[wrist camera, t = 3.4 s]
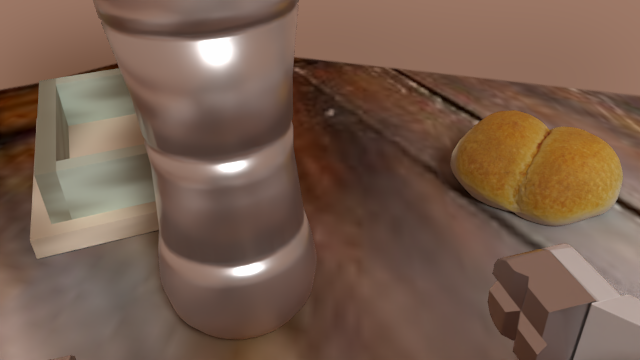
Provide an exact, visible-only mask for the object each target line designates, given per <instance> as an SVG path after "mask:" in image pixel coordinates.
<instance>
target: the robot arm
mask: <svg viewBox="0 0 640 360" xmlns="http://www.w3.org/2000/svg"><path fill="white" fill-rule="evenodd" d="M492 274H493V275H494V276H495V278H496V279H497V281H496V283H495V284H494V285H493V286H492V287H491V288H490V290H489V296H488V306H489V311H490V315H491V318H492V320H493V322H494V324H495V326H496V327H497V329H498V330H499V332H500V333H501V334H502V335H503V336H505V337H507V338H509V339H511V340H513V341H514V345H513V352H514V353H515V355H516V356H517V358H518V359H519V360H640V299H638V298H635V297H633V296H631V295H628V294H627V295H622V296H621V295H620V294H619V293H618V292H617V291H616V290H615V289H614V288H613V287H612V286H611V285H610V284H609V283H608V282H607V281H606V280H605V279H604V278H603V277H602V276H601V275H600V274H599V273H598V272H597V271H596V270H595V269H594V268H593V267H592V266H591V265H590V264H589V263H588V262H587V261H586V260H585V259H584V258H583V257H582V256H581V255H580V254H579V253H578V252H577V251H576V250H575V249H574V248H573V247H572V246H570V245H568V244H565V243H564V244H560V245H555V246H551V247H547V248H543V249H538V250H533V251H529V252H525V253H521V254H517V255H512V256H508V257H504V258H500V259H498V260H497V261H496V263H495V264H494V268H493V273H492ZM50 360H76V358H75V356H71V355H70V356H65V357H60V358H55V359H50Z"/></svg>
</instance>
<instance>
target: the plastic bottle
mask: <svg viewBox="0 0 640 360" xmlns="http://www.w3.org/2000/svg"><path fill="white" fill-rule="evenodd" d="M298 1H299V0H93V2H94V5H95V8H96V12H97V15H98V17H99V18H100V19H101V20H102V22H101V24H102V26H103V29H104V31H105V34H106V36H107V39H108V41H109V44H110V46H111V48H112V51H113V54H114V56H115V58H116V61H117V63H118V66H119V68H120V71H121V73H122V76H123V78H124V81H125V83H126V86H127V88H128V90H129V93H130V96H131V99H132V103H133V106H134V109H135V113H136V116H137V120H138V123H139V127H140V130H141V133H142V135H143V137H144V138H145V141H144V143H145V147H146V150H147V153H148V157H149V160H150V163H151V170H152V177H153V185H154V192H155V200H156V208H157V215H158V223H159V243H158V258H159V271H160V279H161V283H162V286H163V289H164V291H165V293H166V294H167V296H168V298H169V300H170V302H171V304H172V306H173V308H174V310H175V311H176V313H177V314H178V315H179V317H180V318H181V319H182V320H184V321H185V322H186V323H187V324H188V325H190V326H192V327H194V328H196V329H198V330H200V331H202V332H204V333H206V334H208V335H211V336H214V337H218V338H224V339H248V338H254V337H258V336H261V335H264V334H267V333H270V332H272V331H274V330H276V329H278V328H280V327H281V326H282V325H284V324H285V323H287V322H288V321H289V320H290V319H291V318H292V317H293V316H294V315H295V314H296V313H297V312H298V311H299V310H300V309H301V308H302V307H303V306H304V304H305V303H306V301H307V299H308V298H309V296H310V293H311V290H312V287H313V281H314V275H315V269H316V250H315V245H314V241H313V236H312V231H311V228H310V225H309V222H308V219H307V216H306V213H305V210H304V208H303V202H302V196H301V190H300V184H299V178H298V172H297V166H296V160H295V154H294V148H293V124H292V119H293V79H292V75H293V64H294V52H295V39H296V28H297V16H298V4H297V3H298Z"/></svg>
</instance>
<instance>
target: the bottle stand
mask: <svg viewBox="0 0 640 360" xmlns="http://www.w3.org/2000/svg"><path fill="white" fill-rule="evenodd" d="M144 141H145V138H144V137H143V135H142V133H141V130H140V127H139V123H138V120H137V116H136V113H135V109H134V106H133V103H132V99H131V96H130V93H129V90H128V88H127V86H126V83H125V81H124V78H123V76H122V73H121V71H120V68H119V69H112V70H106V71H100V72H93V73H87V74H81V75H74V76H68V77H62V78H56V79H49V80H43V81H39V96H38V115H37V124H36V142H35V160H34V178H33V196H32V214H31V232H30V242H31V244H32V247H33V250H34V252H35V255H36V257H37V259H39V258H43V257H47V256H51V255H56V254H60V253H64V252H68V251H72V250H77V249H81V248H85V247H89V246H93V245H98V244H102V243H106V242H110V241H114V240H119V239H123V238H127V237H131V236H135V235H140V234H144V233H148V232H152V231H157V230H159V223H158V215H157V208H156V200H155V192H154V185H153V177H152V170H151V163H150V160H149V157H148V153H147V150H146V147H145V143H144Z"/></svg>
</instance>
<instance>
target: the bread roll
mask: <svg viewBox="0 0 640 360" xmlns="http://www.w3.org/2000/svg"><path fill="white" fill-rule="evenodd" d="M450 165H451V170H452V172H453V174H454V176H455V177H456V179H457V180H458V181H459V183H460V184H461V185H462V186H463V187H464V188H465V189H466V190H467V191H468V192H469V193H470V194H471V195H472V196H473V197H474V198H475V199H477V200H479V201H481V202H483V203H485V204H487V205H490V206H492V207H495V208H499V209H502V210H505V211H512V212H514V213H515V214H517V215H518V216H520V217H522V218H524V219H526V220H529V221H532V222H535V223H538V224H543V225H549V226H561V225H566V224H571V223H574V222H579V221H582V220H585V219H587V218H591V217H594V216H598V215H601V214H604V213H605V212H607V211H608V210H609V209H610V208H611V207H612V206H613V205H614V204H615V202H616V200H617V198H618V195H619V192H620V189H621V185H622V180H623V174H622V168H621V164H620V161H619V158H618V157H617V155H616V153H615V152H614V150H613V149H612V148H611V147H610V146H609V145H608V144H607V143H606V142H605V141H603V140H602V139H600V138H599V137H597V136H595V135H593V134H590V133H588V132H586V131H585V130H582V129H577V128H573V127H557V128H554V129H551V130H549V129H548V128H547V127H546V126H545V125H544V124H543V123H542V122H541V121H540V120H538V119H537V118H535V117H533V116H531V115H529V114H526V113H523V112H519V111H515V110H513V111H500V112H496V113H493V114H491V115H489V116H487V117H486V118H484V119H483V120H481V121H480V122H479V123H478V124H476V125H474V127H473V128H471V129H470V130H469V131H468V132H467V133H466V135H465V136H464V137H462V138H461V140H460V141H459V142H458V144H457V145H456V147H455V149H454V150H453V153H452V156H451V163H450Z"/></svg>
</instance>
